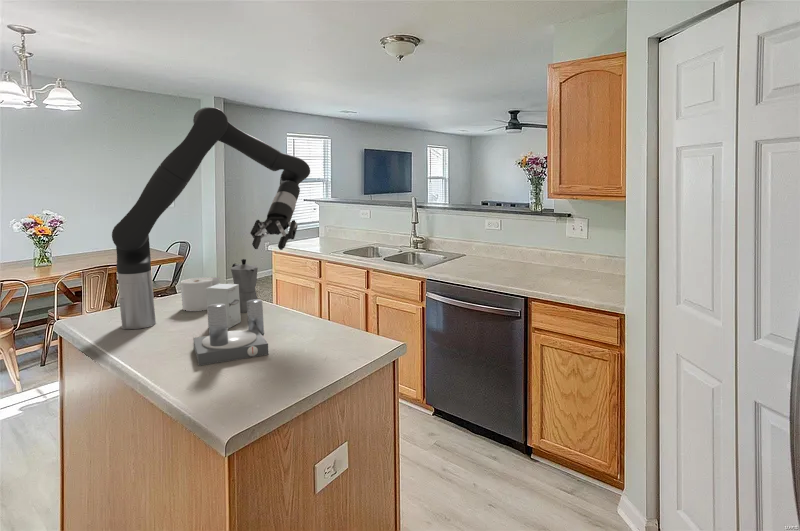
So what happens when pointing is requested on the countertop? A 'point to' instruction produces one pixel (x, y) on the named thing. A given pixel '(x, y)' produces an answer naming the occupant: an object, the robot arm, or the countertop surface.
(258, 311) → the spacer
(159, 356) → the countertop surface
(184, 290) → the toilet tissue
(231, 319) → the supplement box
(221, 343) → the cylinder
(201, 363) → the scale
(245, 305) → the coffeepot
